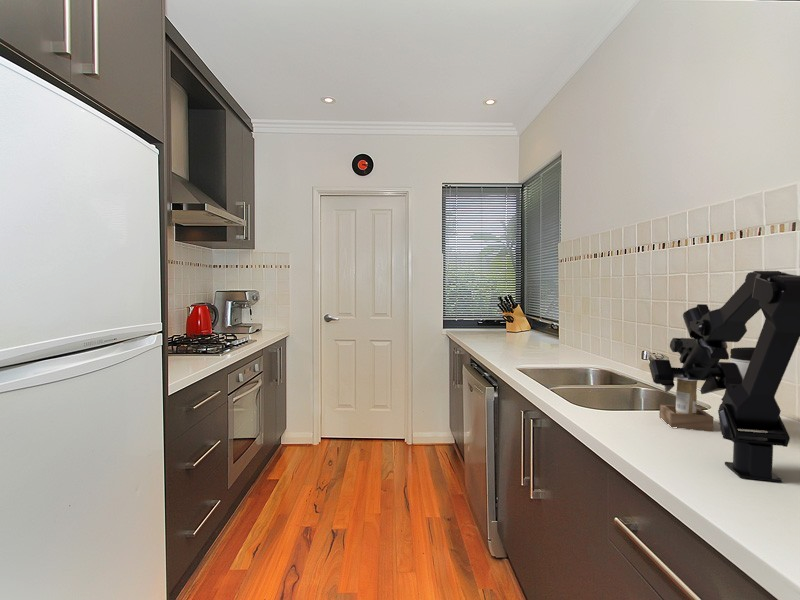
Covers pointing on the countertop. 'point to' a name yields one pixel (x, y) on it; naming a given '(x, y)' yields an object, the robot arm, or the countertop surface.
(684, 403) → the sprinkles bottle
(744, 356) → the travel mug
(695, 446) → the countertop surface
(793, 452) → the countertop surface
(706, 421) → the walnut collar
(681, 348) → the robot arm
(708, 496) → the countertop surface
